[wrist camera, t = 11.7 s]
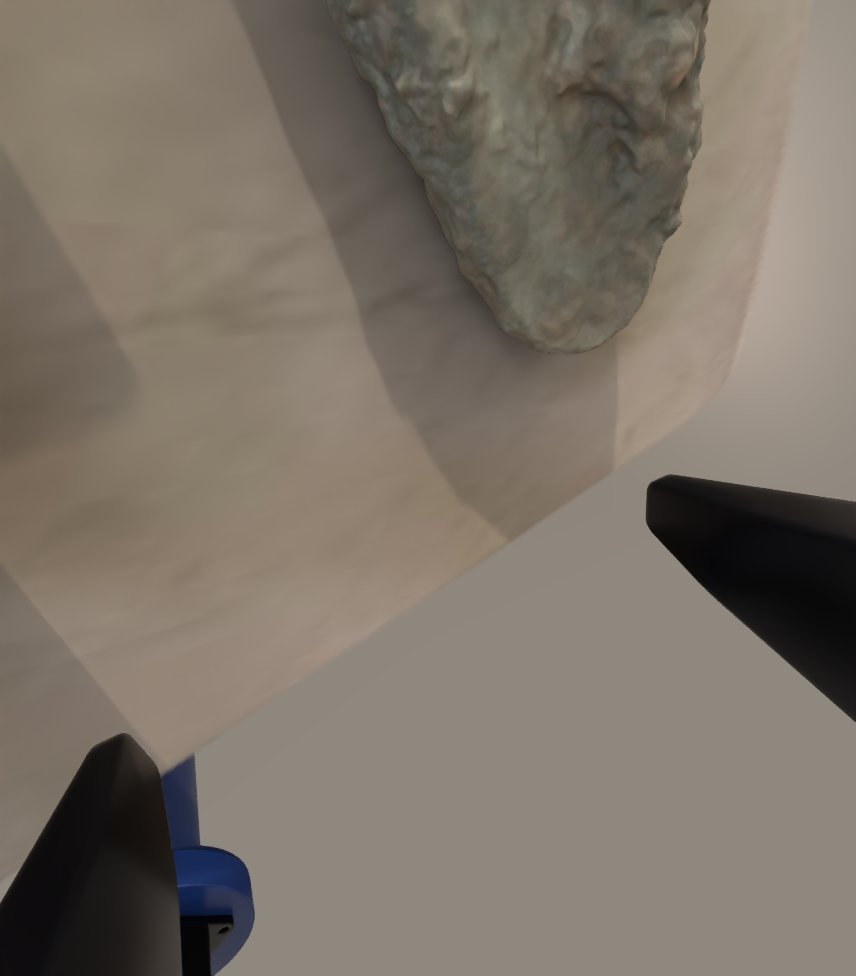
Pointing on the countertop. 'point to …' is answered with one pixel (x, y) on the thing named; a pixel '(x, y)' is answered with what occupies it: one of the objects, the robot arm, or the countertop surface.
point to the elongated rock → (543, 143)
